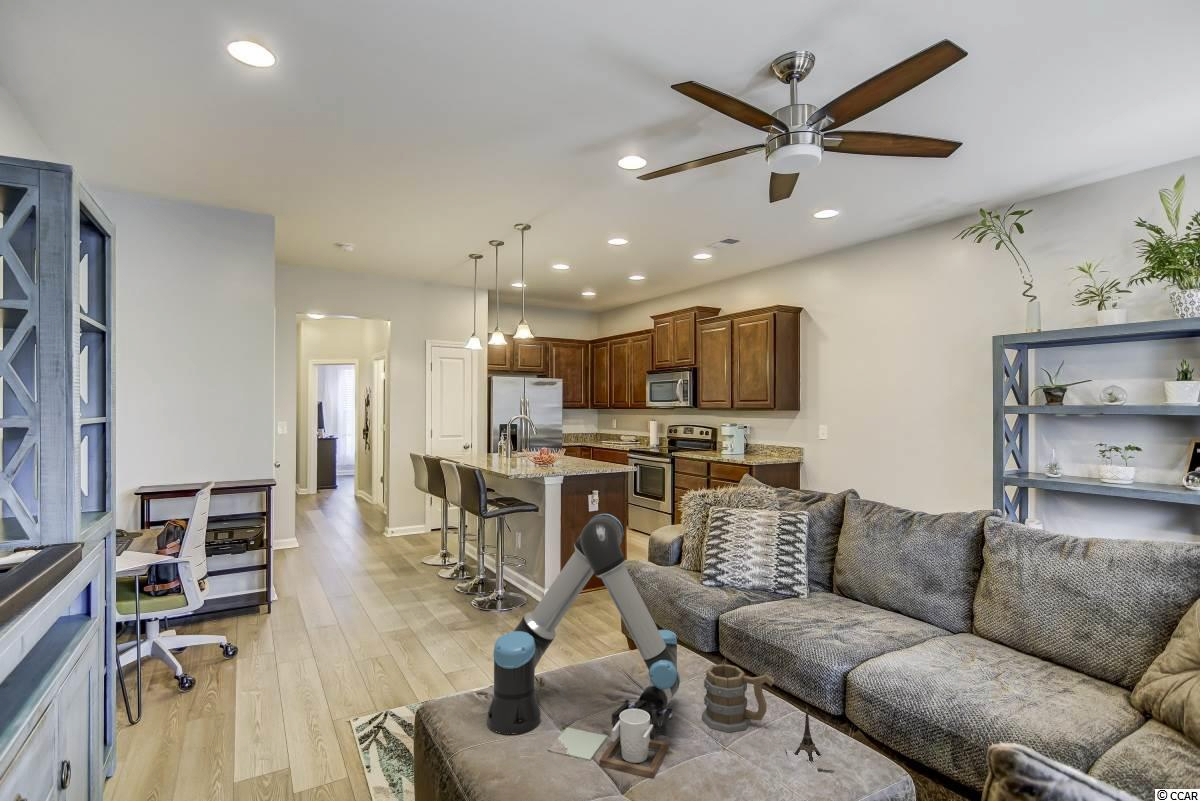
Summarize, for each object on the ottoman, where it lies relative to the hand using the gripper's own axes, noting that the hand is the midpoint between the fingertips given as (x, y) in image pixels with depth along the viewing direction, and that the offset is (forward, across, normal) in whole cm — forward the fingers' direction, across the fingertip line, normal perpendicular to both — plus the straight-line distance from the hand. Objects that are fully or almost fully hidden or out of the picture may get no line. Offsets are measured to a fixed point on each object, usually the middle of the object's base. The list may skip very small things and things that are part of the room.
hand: (628, 739), depth 145 cm
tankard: (-32, -22, -7) cm, 39 cm away
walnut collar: (-5, 0, -7) cm, 8 cm away
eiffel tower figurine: (-23, -40, -7) cm, 47 cm away
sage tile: (-5, +16, -7) cm, 18 cm away
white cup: (-5, 0, -7) cm, 8 cm away
